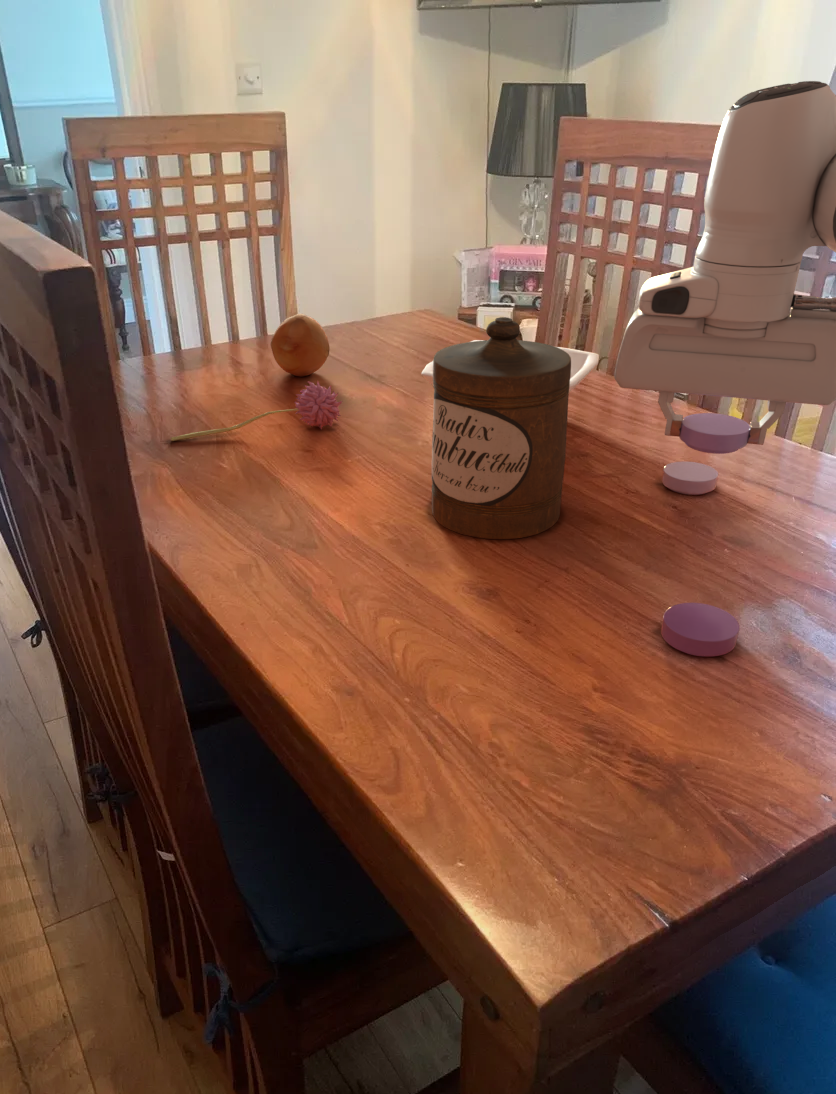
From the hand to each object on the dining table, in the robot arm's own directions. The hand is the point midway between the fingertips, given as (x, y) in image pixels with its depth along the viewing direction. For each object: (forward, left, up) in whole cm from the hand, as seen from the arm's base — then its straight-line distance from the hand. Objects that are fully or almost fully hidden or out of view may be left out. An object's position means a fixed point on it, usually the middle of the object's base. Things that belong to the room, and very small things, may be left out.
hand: (712, 438), depth 85 cm
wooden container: (+22, -3, -13) cm, 26 cm away
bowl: (+27, -35, -13) cm, 46 cm away
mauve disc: (-1, +18, -13) cm, 22 cm away
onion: (+66, -48, -13) cm, 83 cm away
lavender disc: (0, 0, -1) cm, 1 cm away
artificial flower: (+60, -19, -13) cm, 64 cm away
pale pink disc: (+1, -17, -13) cm, 22 cm away
